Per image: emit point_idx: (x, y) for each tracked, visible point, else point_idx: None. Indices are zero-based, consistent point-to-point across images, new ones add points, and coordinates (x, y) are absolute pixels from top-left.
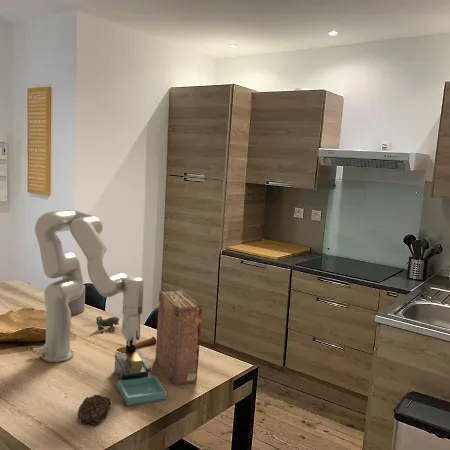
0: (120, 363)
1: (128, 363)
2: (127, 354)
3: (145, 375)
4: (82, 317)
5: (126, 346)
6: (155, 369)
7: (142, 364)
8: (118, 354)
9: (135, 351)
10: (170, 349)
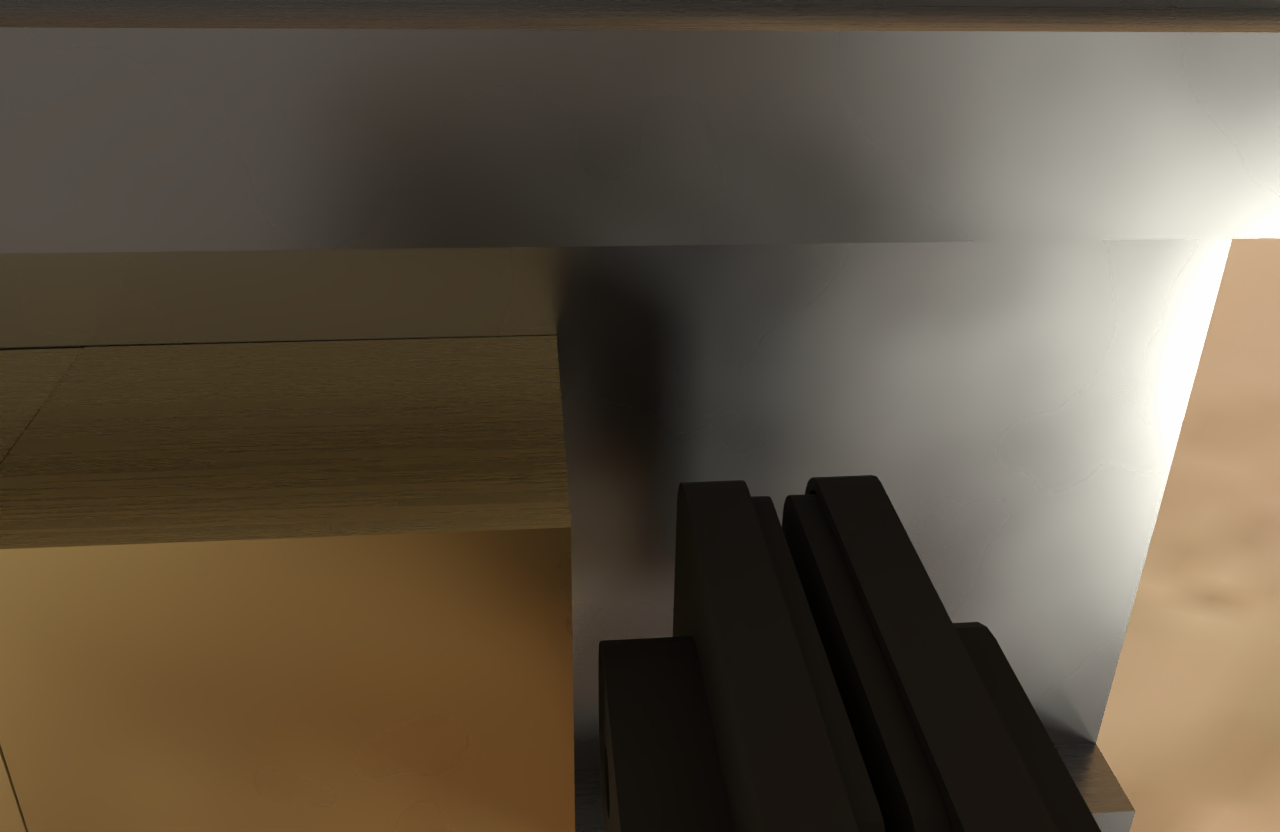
0: (140, 12)
1: (96, 371)
2: (369, 550)
3: None
4: None
5: (942, 768)
6: None
7: None
8: (1102, 147)
9: (1085, 801)
10: None
